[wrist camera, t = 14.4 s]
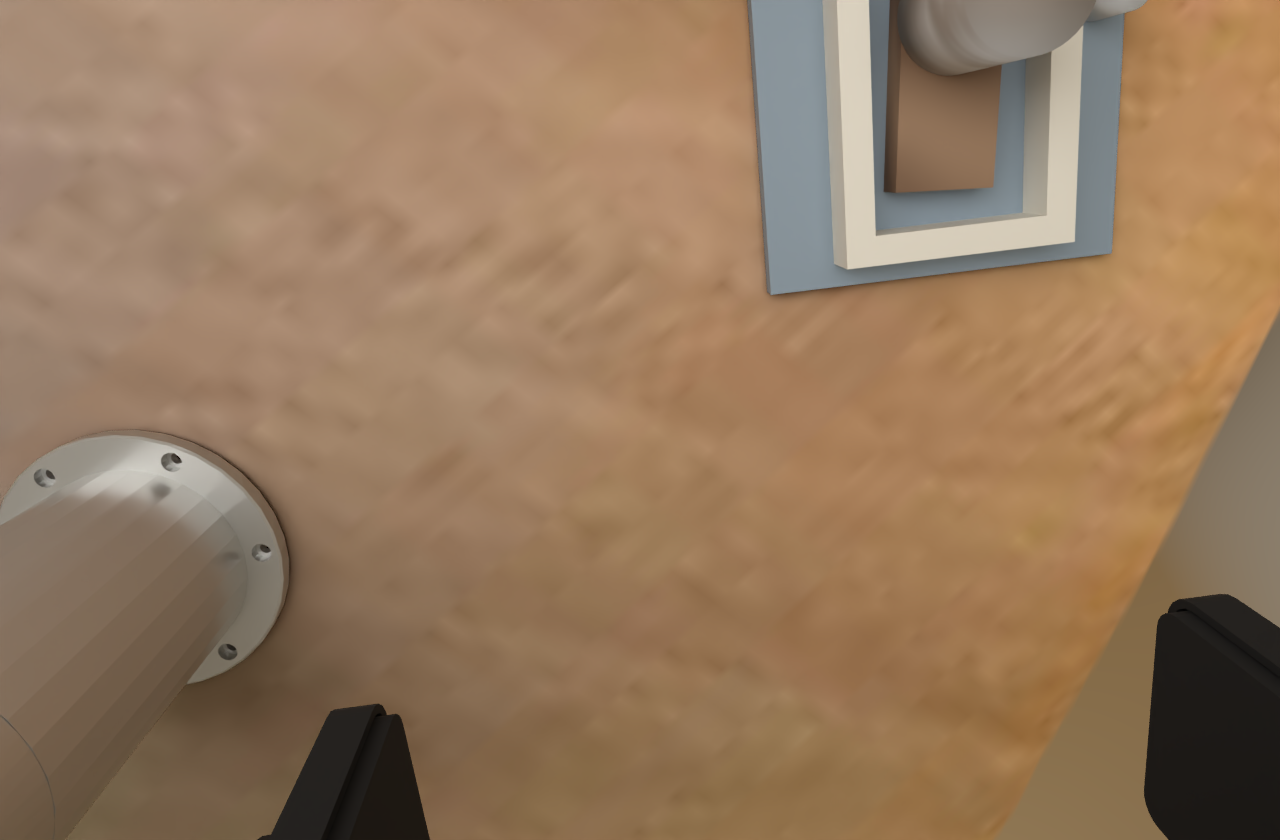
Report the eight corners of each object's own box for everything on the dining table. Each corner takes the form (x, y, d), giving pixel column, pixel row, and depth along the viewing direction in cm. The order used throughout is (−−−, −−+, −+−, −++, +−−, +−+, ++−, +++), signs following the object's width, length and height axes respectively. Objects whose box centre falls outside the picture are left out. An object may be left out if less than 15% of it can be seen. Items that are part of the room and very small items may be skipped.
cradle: (767, 292, 37) (783, 304, 34) (729, -257, 31) (745, -304, 28) (1101, 251, 37) (1147, 259, 34) (1128, -301, 31) (1188, -352, 28)
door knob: (890, -168, 32) (977, -265, 24) (1005, -172, 32) (1125, -270, 25) (878, 192, 35) (951, 199, 28) (981, 185, 36) (1080, 191, 28)
